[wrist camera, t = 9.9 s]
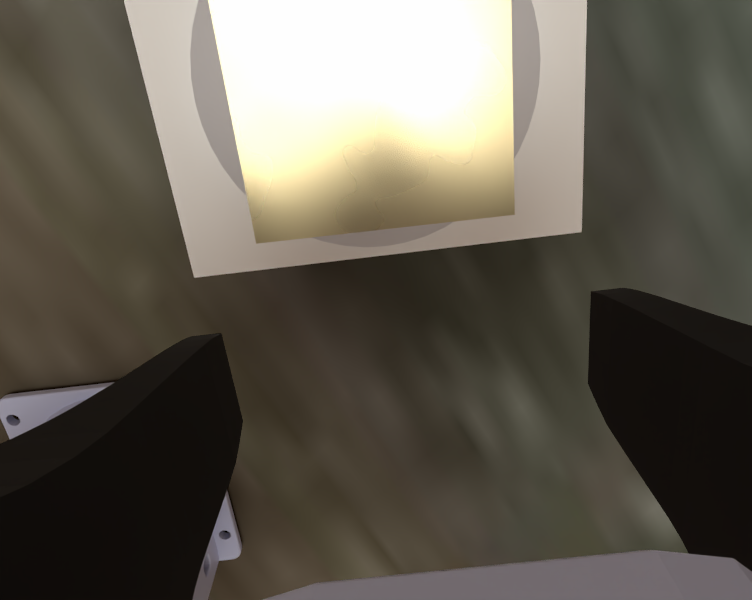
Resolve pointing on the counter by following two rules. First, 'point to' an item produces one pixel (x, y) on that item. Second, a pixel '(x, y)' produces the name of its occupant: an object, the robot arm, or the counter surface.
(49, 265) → the counter surface
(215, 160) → the kitchen scale
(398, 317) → the counter surface
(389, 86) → the block
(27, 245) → the counter surface
